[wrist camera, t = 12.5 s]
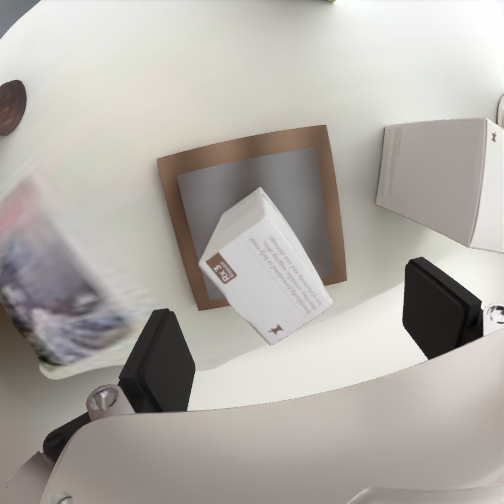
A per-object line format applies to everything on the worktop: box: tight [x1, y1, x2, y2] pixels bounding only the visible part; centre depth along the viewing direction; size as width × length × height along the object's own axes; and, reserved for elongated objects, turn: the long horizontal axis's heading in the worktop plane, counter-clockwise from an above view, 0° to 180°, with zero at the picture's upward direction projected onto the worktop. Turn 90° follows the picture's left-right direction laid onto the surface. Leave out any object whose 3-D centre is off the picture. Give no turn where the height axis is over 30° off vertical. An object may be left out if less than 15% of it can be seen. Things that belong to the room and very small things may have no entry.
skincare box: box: [198, 187, 334, 345], centre depth 19 cm, size 6×4×12 cm
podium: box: [157, 125, 347, 311], centre depth 26 cm, size 16×16×4 cm
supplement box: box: [376, 118, 504, 254], centre depth 20 cm, size 9×9×15 cm
